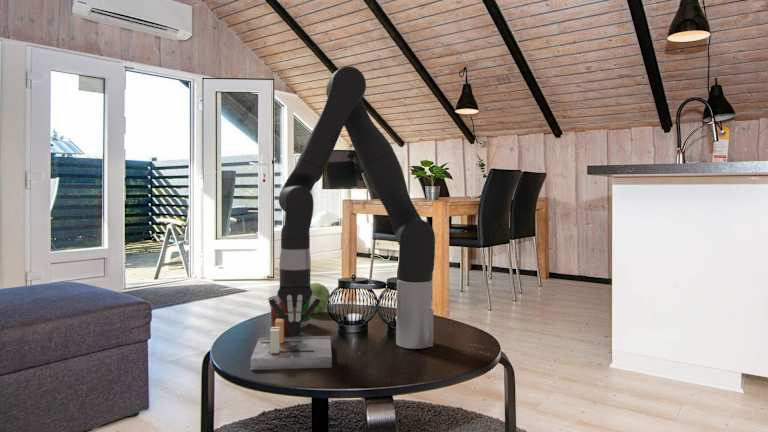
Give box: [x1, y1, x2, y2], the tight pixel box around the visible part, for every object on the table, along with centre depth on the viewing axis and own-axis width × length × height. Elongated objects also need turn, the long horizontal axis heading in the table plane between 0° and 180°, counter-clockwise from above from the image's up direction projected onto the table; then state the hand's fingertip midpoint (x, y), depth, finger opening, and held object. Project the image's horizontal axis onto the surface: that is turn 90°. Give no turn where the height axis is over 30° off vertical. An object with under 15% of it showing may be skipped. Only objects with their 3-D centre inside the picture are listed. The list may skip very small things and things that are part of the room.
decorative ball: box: [310, 282, 331, 314], centre depth 171 cm, size 10×10×10 cm
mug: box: [267, 295, 297, 337], centre depth 143 cm, size 12×9×10 cm
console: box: [250, 335, 333, 371], centre depth 125 cm, size 18×17×3 cm
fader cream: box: [269, 327, 280, 353], centre depth 120 cm, size 2×4×5 cm, turn 7°
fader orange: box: [275, 319, 284, 343], centre depth 128 cm, size 2×4×5 cm, turn 7°
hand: (294, 335), depth 129 cm, fingers closed
